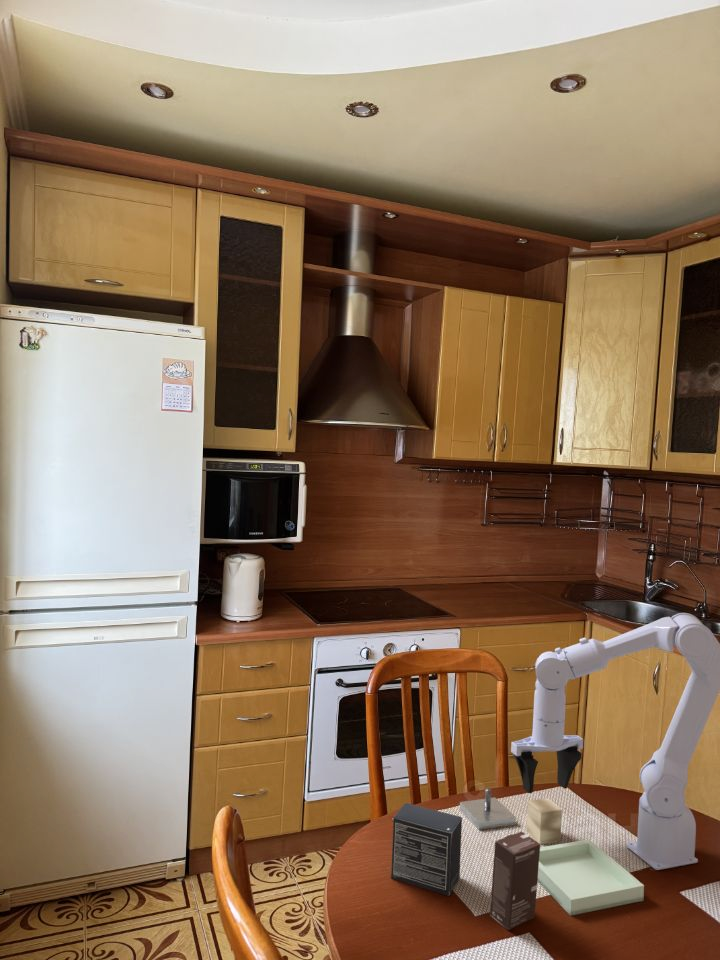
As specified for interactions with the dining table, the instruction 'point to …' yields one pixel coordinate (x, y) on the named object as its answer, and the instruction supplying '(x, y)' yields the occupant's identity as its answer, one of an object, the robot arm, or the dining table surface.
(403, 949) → the dining table surface
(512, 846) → the box
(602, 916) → the dining table surface
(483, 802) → the silver peg base
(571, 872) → the tray
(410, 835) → the small box
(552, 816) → the birch block
